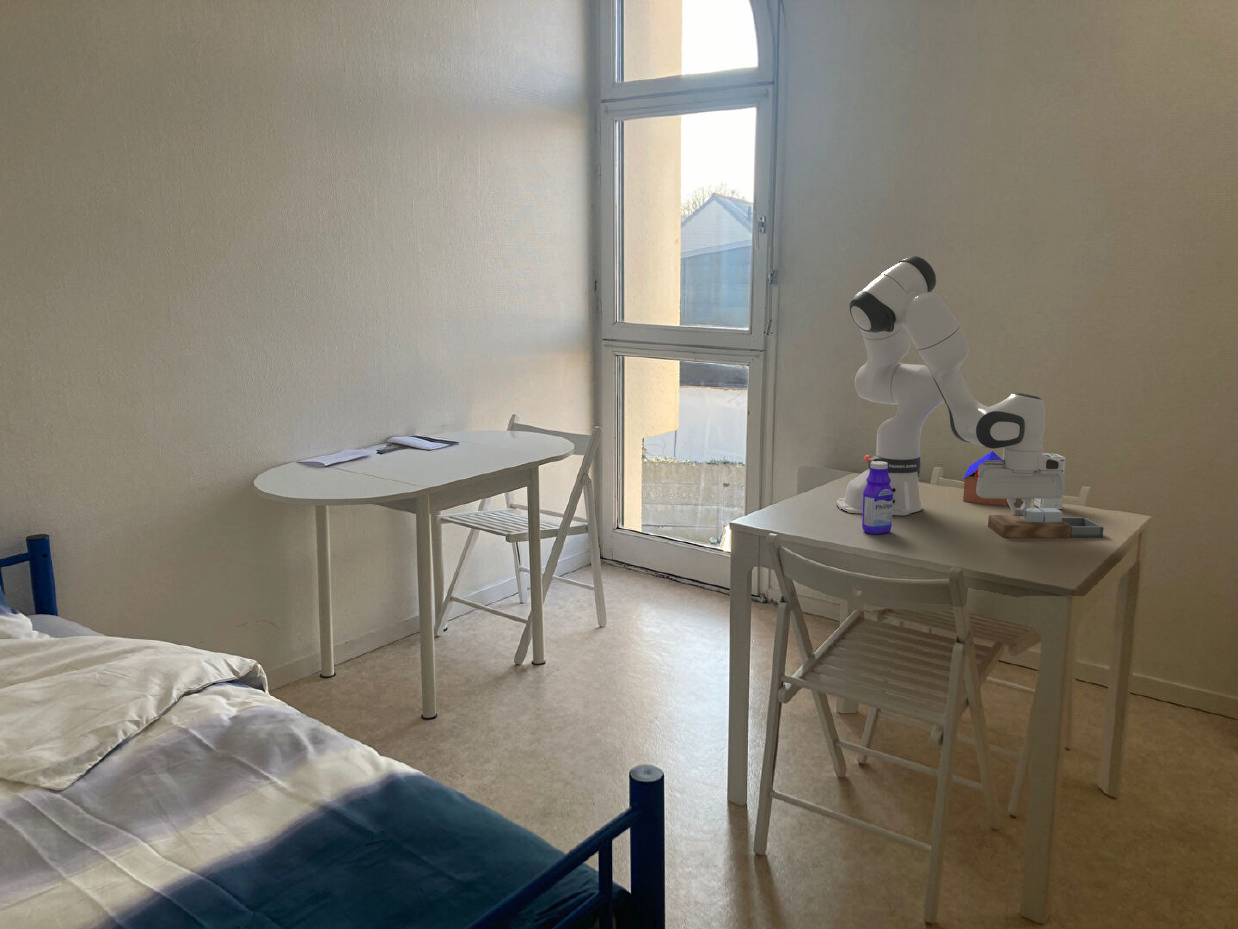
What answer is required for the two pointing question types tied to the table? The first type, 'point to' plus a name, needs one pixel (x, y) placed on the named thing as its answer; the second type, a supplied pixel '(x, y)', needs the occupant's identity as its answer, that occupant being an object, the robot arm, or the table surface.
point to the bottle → (877, 500)
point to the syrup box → (1051, 502)
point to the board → (1027, 527)
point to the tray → (1083, 527)
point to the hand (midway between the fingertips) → (1017, 515)
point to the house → (972, 479)
